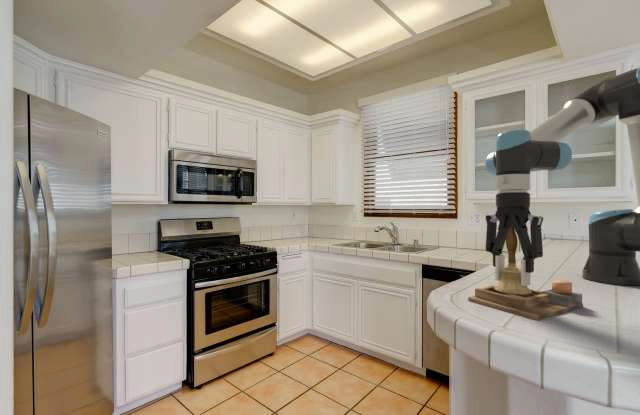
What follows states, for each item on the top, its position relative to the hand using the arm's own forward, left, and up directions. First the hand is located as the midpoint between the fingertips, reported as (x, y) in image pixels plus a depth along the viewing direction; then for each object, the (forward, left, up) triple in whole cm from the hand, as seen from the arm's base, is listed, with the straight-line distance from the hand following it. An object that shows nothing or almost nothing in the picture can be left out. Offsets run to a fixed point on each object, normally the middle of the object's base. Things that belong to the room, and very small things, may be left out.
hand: (512, 282), depth 84 cm
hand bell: (0, 0, -2) cm, 2 cm away
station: (-2, +2, -5) cm, 6 cm away
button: (-8, +8, -2) cm, 11 cm away
